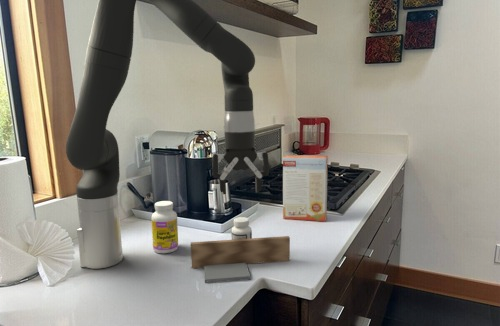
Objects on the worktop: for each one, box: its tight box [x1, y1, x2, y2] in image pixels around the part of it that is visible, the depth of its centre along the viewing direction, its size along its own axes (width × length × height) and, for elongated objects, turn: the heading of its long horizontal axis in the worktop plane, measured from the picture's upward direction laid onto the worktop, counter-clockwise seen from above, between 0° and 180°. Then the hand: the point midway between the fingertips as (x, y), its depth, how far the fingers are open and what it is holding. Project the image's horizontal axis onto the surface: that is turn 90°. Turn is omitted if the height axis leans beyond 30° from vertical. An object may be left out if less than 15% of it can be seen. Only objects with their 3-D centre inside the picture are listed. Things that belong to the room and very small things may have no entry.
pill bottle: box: [231, 216, 253, 240], centre depth 98 cm, size 5×5×9 cm
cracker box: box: [282, 154, 328, 222], centre depth 124 cm, size 14×6×21 cm, turn 74°
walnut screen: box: [190, 235, 291, 269], centre depth 91 cm, size 24×1×6 cm, turn 98°
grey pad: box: [203, 263, 251, 284], centre depth 87 cm, size 10×7×1 cm
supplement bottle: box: [151, 200, 179, 254], centre depth 100 cm, size 7×7×13 cm
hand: (241, 192), depth 96 cm, fingers open, 8 cm apart
